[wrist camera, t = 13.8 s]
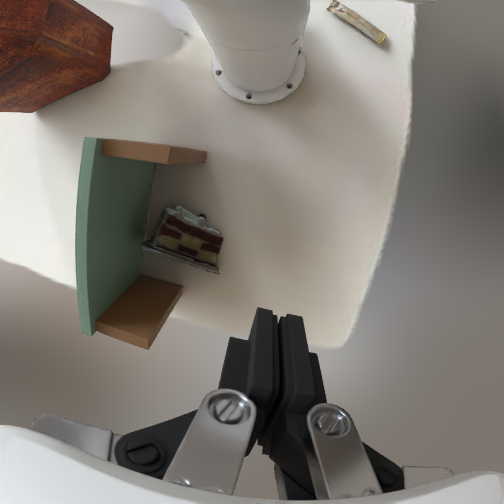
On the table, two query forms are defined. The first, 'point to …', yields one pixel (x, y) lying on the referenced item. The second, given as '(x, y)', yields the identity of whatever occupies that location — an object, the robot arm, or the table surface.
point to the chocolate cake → (185, 239)
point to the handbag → (49, 52)
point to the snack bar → (357, 21)
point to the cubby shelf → (120, 239)
